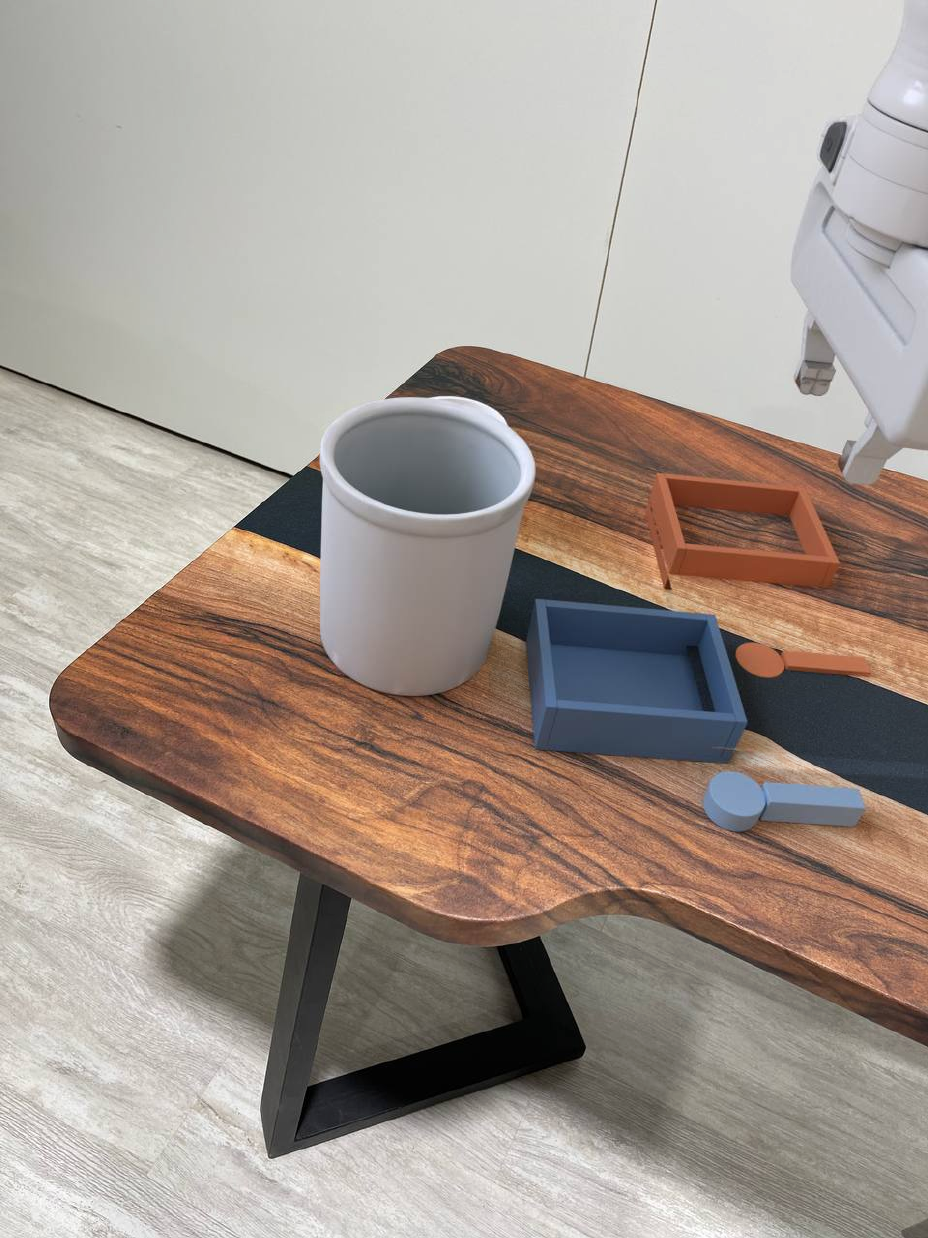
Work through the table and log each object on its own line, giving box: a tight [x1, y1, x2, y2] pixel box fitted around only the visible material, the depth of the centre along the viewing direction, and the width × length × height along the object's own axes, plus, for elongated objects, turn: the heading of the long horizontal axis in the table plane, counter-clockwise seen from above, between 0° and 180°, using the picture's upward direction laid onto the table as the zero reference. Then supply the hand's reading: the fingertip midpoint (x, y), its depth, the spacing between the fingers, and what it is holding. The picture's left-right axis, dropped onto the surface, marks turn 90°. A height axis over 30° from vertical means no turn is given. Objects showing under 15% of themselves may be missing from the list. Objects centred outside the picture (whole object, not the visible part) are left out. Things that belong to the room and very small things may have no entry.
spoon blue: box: [702, 770, 867, 833], centre depth 72 cm, size 11×4×2 cm, turn 91°
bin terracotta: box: [644, 472, 841, 590], centre depth 94 cm, size 15×12×5 cm
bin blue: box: [525, 598, 748, 765], centre depth 77 cm, size 15×12×5 cm
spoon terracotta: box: [734, 642, 872, 679], centre depth 83 cm, size 11×4×2 cm, turn 91°
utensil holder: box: [319, 396, 537, 697], centre depth 75 cm, size 15×15×18 cm
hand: (829, 430), depth 58 cm, fingers open, 8 cm apart
